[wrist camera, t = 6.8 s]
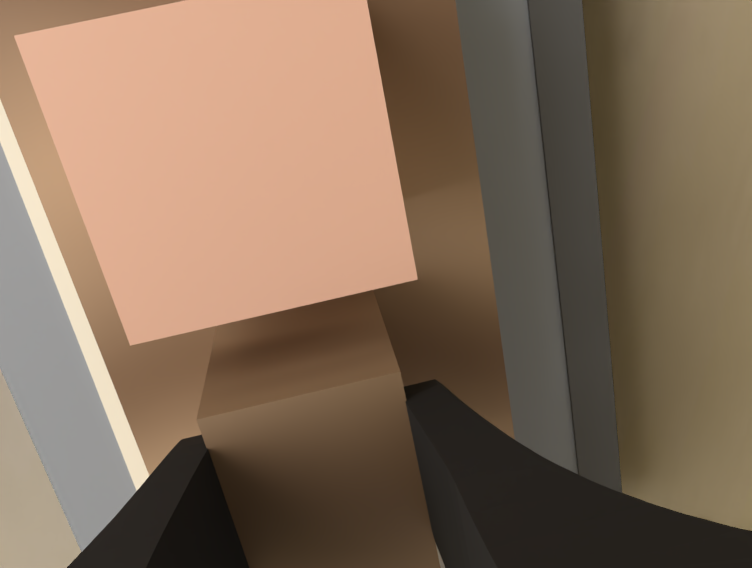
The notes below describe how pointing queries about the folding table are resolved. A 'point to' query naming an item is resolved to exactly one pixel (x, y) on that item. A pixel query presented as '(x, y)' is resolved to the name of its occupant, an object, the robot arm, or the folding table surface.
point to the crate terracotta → (226, 156)
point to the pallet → (431, 205)
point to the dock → (507, 254)
